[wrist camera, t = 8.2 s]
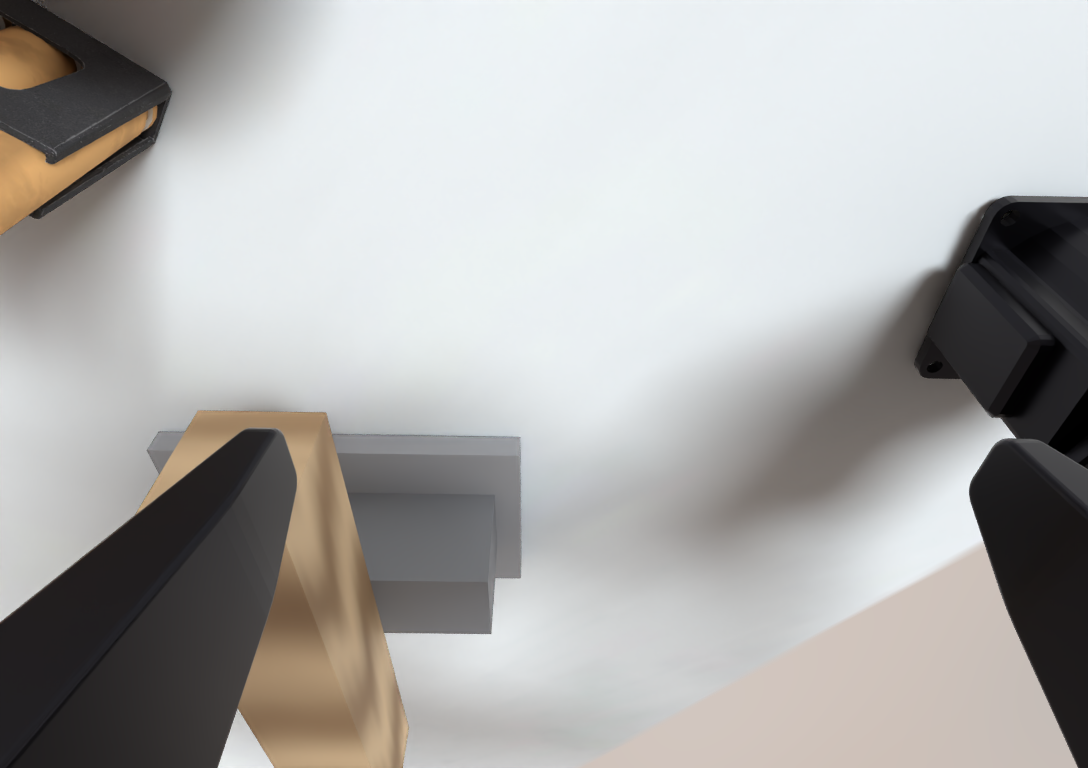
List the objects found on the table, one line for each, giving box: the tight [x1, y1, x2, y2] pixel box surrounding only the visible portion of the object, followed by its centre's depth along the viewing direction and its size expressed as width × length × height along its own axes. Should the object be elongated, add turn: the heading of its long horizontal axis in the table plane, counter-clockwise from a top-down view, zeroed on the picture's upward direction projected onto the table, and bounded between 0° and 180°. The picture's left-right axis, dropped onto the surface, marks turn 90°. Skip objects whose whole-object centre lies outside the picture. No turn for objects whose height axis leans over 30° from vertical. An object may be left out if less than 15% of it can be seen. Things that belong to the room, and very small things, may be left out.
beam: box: [135, 411, 409, 768], centre depth 23 cm, size 20×4×4 cm, turn 179°
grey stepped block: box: [147, 432, 521, 634], centre depth 26 cm, size 14×8×5 cm, turn 89°
